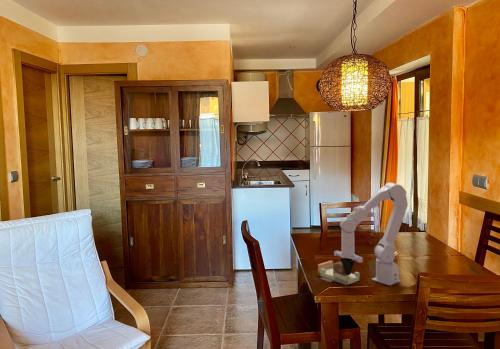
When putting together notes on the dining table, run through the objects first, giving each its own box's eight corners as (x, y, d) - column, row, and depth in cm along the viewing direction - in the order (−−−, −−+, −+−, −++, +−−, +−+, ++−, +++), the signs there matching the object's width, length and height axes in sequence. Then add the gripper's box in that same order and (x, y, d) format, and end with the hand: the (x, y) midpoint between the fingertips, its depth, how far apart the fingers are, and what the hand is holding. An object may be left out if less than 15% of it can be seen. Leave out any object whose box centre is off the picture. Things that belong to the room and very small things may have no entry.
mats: (360, 277, 179) (360, 276, 179) (338, 285, 170) (338, 284, 170) (341, 271, 188) (341, 271, 188) (319, 278, 179) (319, 278, 179)
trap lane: (359, 280, 175) (359, 269, 175) (346, 285, 170) (346, 273, 170) (331, 270, 189) (331, 260, 189) (318, 275, 184) (317, 264, 183)
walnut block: (349, 274, 178) (348, 263, 177) (341, 277, 175) (341, 266, 174) (340, 271, 182) (340, 261, 181) (333, 274, 179) (333, 263, 178)
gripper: (329, 243, 177) (329, 272, 178) (355, 249, 165) (355, 280, 166) (339, 240, 181) (340, 268, 182) (365, 246, 169) (365, 277, 171)
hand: (348, 274), depth 175 cm, fingers closed
